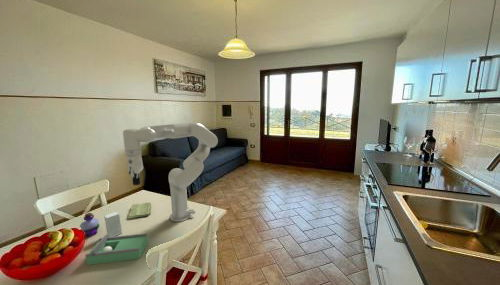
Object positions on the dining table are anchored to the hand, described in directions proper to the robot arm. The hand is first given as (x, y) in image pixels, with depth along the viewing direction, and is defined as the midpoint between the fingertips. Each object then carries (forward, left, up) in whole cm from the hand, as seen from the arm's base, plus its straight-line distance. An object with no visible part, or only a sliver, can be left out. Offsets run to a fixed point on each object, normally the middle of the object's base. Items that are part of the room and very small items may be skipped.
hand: (136, 184), depth 114 cm
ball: (+9, +20, -25) cm, 33 cm away
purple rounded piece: (+26, 0, -27) cm, 38 cm away
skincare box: (+13, +3, -27) cm, 30 cm away
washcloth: (+7, -21, -28) cm, 36 cm away
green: (+4, +19, -27) cm, 33 cm away
